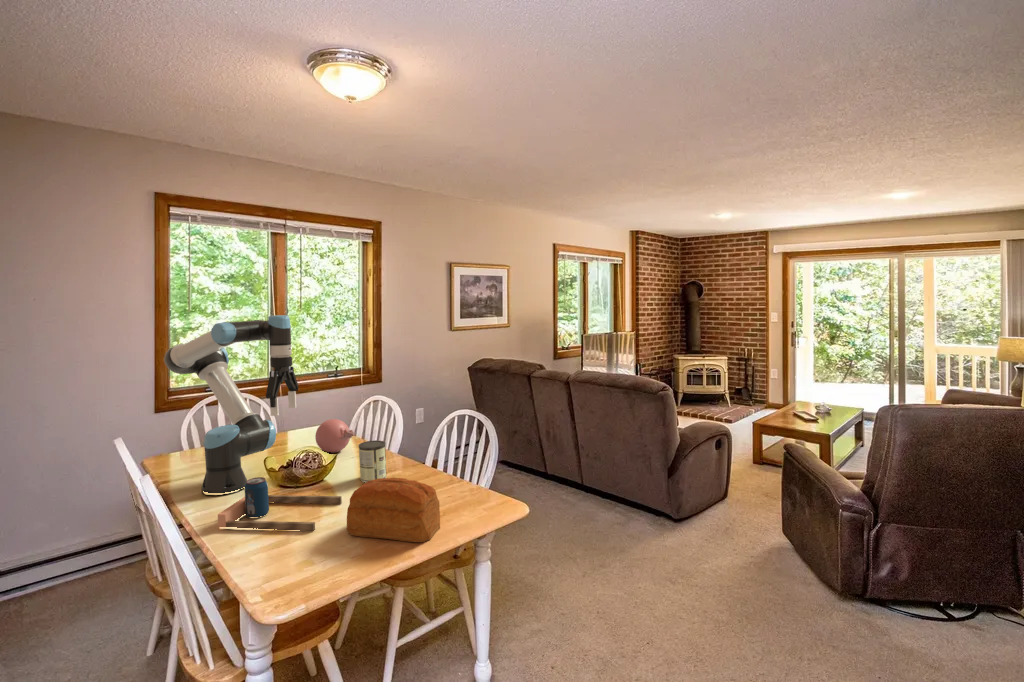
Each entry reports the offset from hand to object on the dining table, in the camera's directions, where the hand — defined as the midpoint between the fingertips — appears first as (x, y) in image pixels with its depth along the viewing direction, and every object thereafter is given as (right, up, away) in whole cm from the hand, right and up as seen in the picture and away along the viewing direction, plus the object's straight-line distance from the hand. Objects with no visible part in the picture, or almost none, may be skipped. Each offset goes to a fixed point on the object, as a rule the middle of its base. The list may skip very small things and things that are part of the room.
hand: (284, 411), depth 200 cm
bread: (+51, -32, -38) cm, 71 cm away
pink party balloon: (+6, -25, +44) cm, 51 cm away
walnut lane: (+12, -31, -26) cm, 42 cm away
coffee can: (+32, -28, +8) cm, 43 cm away
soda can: (+2, -31, -25) cm, 40 cm away
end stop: (-3, -31, -25) cm, 40 cm away
